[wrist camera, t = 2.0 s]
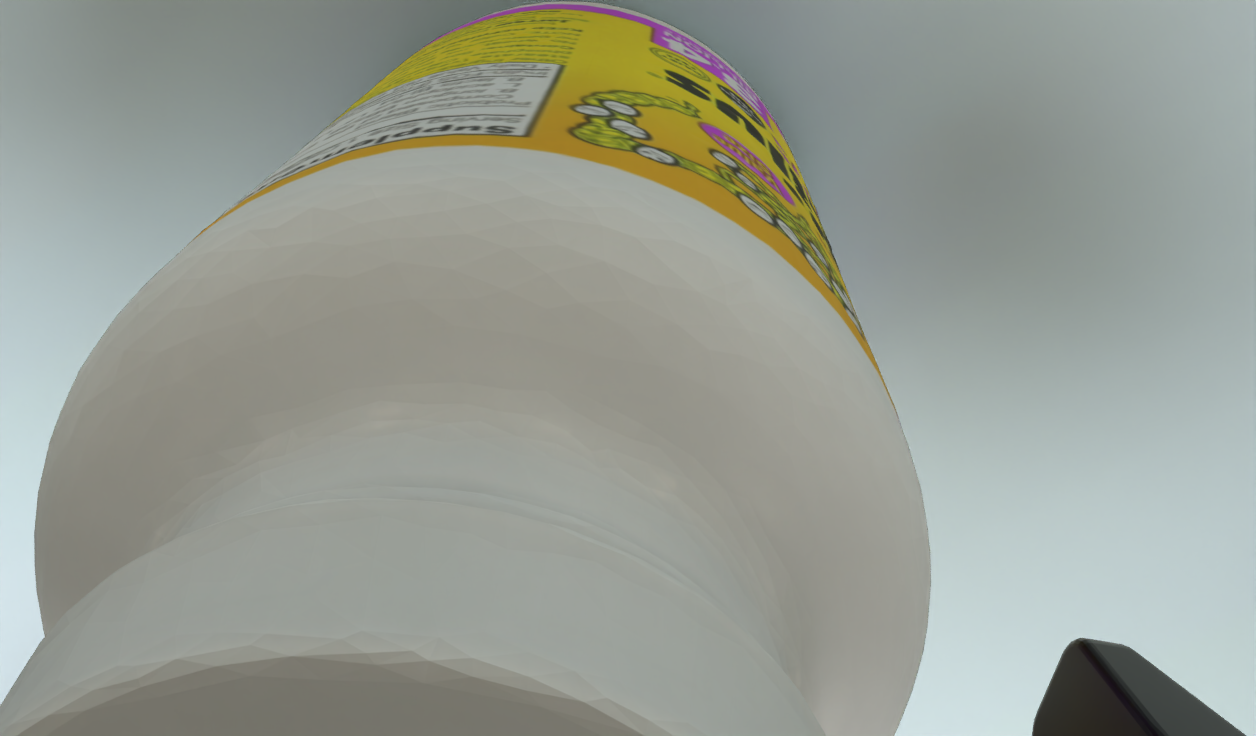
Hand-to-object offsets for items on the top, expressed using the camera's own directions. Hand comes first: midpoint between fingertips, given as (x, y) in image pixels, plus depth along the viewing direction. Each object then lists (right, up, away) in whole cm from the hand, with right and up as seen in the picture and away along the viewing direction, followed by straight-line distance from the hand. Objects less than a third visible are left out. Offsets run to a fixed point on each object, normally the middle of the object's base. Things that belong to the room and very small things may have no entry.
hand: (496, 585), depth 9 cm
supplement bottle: (0, +4, +8) cm, 9 cm away
